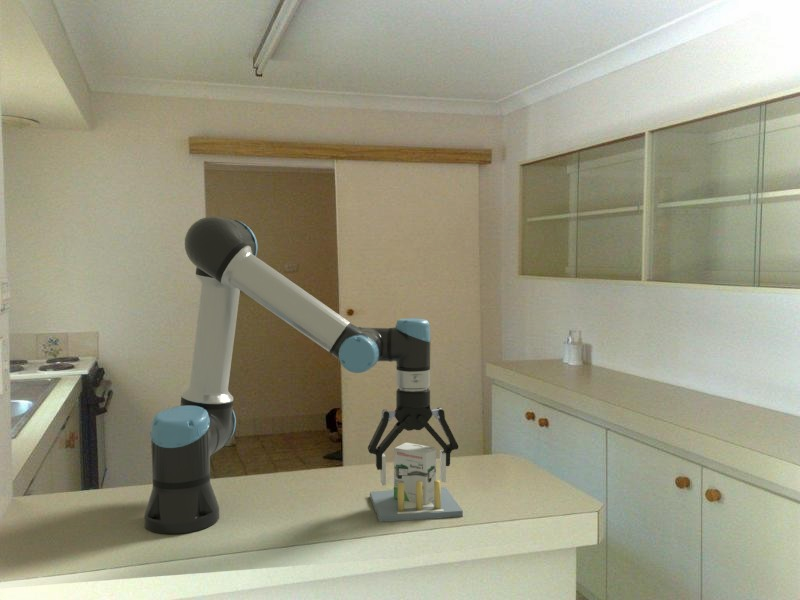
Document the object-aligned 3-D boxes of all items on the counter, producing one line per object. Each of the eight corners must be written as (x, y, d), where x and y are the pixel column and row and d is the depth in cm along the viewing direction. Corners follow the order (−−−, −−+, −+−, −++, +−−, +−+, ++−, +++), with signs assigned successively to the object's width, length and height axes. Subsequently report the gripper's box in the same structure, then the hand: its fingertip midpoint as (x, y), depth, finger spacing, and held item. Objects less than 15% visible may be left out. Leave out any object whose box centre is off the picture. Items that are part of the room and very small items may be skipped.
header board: (379, 521, 151) (379, 488, 150) (370, 496, 167) (369, 466, 166) (462, 516, 154) (462, 483, 153) (445, 492, 170) (445, 462, 169)
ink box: (392, 498, 161) (392, 446, 161) (404, 492, 166) (403, 441, 165) (426, 505, 157) (426, 452, 156) (437, 498, 161) (436, 446, 160)
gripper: (359, 393, 154) (359, 490, 155) (472, 389, 158) (471, 484, 159) (355, 386, 161) (356, 479, 162) (463, 383, 165) (462, 473, 167)
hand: (413, 482), depth 161 cm, fingers open, 13 cm apart
